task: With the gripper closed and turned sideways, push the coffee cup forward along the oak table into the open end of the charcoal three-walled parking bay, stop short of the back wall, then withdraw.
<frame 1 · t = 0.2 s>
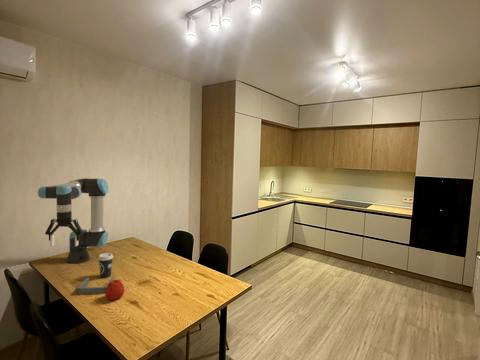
hand: (64, 245, 158), 28 cm above the table, fingers open, 13 cm apart
bay: (96, 287, 165), on the table
coffee cup: (105, 276, 181), on the table
apple: (114, 297, 154), on the table
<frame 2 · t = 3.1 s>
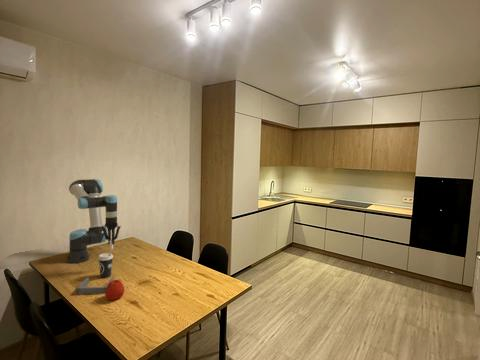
hand: (111, 248, 190), 16 cm above the table, fingers closed
nothing on the table moved.
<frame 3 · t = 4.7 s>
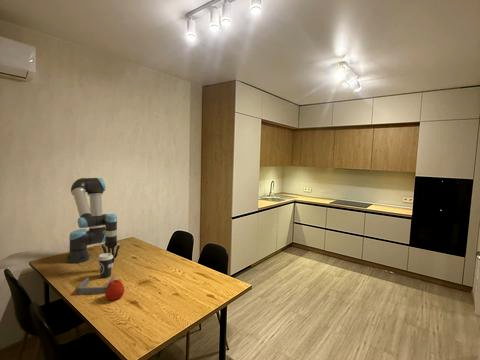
hand: (111, 267, 191), 2 cm above the table, fingers closed
nothing on the table moved.
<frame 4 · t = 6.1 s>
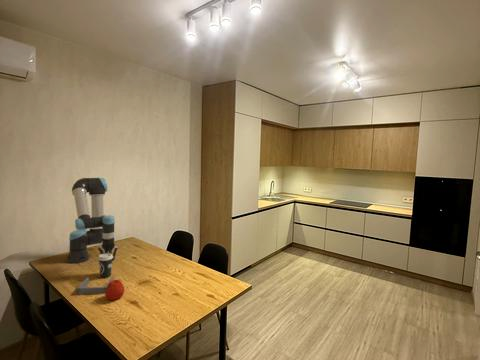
hand: (108, 270, 185), 2 cm above the table, fingers closed
coffee cup: (105, 276, 181), on the table, touching gripper, hand
everything else where it was.
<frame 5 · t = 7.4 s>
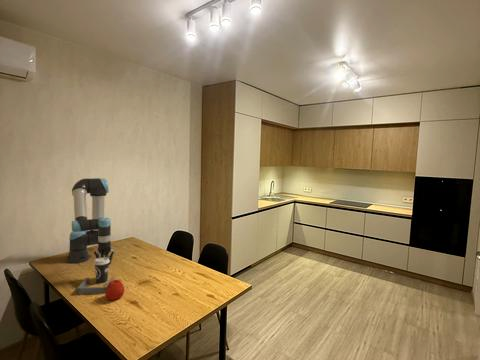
hand: (104, 274, 178), 2 cm above the table, fingers closed
coffee cup: (101, 281, 173), on the table, touching gripper, hand
everything else where it was.
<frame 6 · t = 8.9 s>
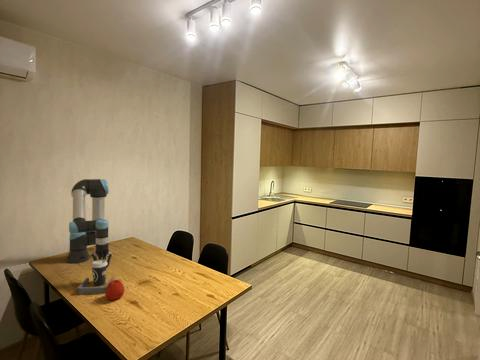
hand: (102, 277, 174), 2 cm above the table, fingers closed
coffee cup: (99, 284, 169), on the table, touching gripper, hand
everything else where it was.
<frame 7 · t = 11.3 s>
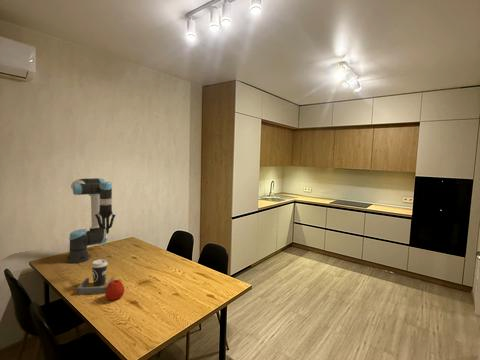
hand: (105, 237, 181), 26 cm above the table, fingers closed
coffee cup: (99, 284, 169), on the table
everything else where it was.
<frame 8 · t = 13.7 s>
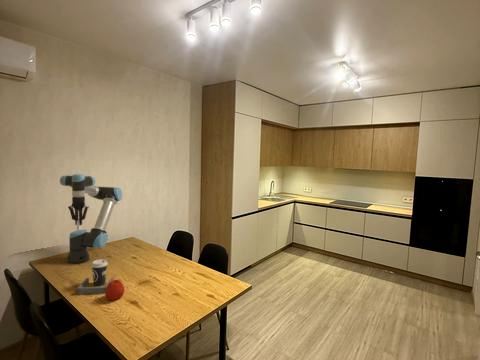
hand: (78, 229, 184), 30 cm above the table, fingers closed
nothing on the table moved.
at the end: coffee cup inside the target area on the bay (5.3 cm from its centre), point 0.0 cm above the bay's base; coffee cup tilted 0° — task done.
